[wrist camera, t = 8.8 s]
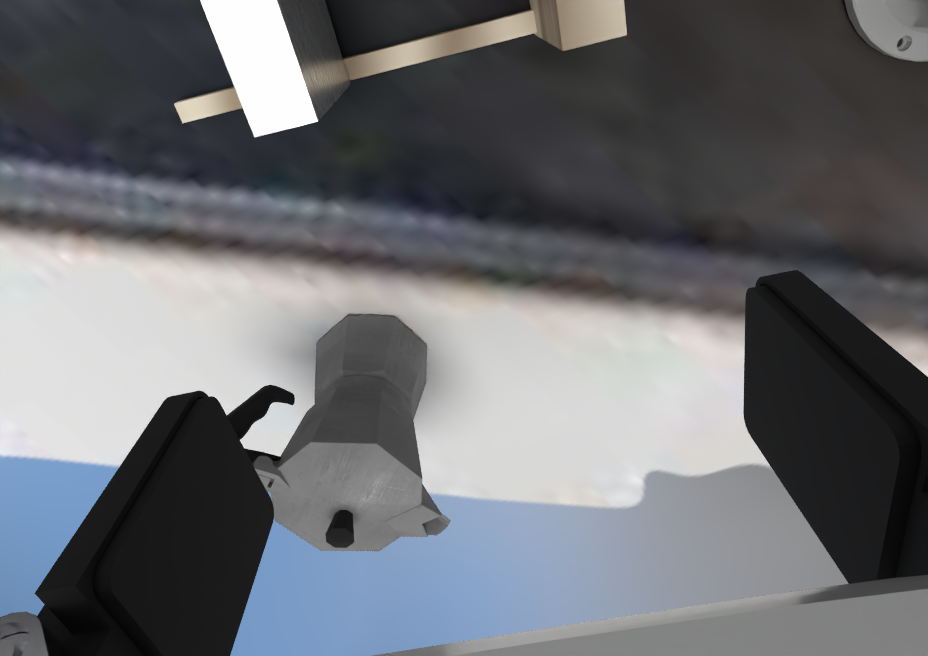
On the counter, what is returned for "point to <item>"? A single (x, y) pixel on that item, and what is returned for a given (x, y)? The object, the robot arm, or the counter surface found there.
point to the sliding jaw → (279, 59)
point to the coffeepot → (352, 442)
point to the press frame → (462, 44)
